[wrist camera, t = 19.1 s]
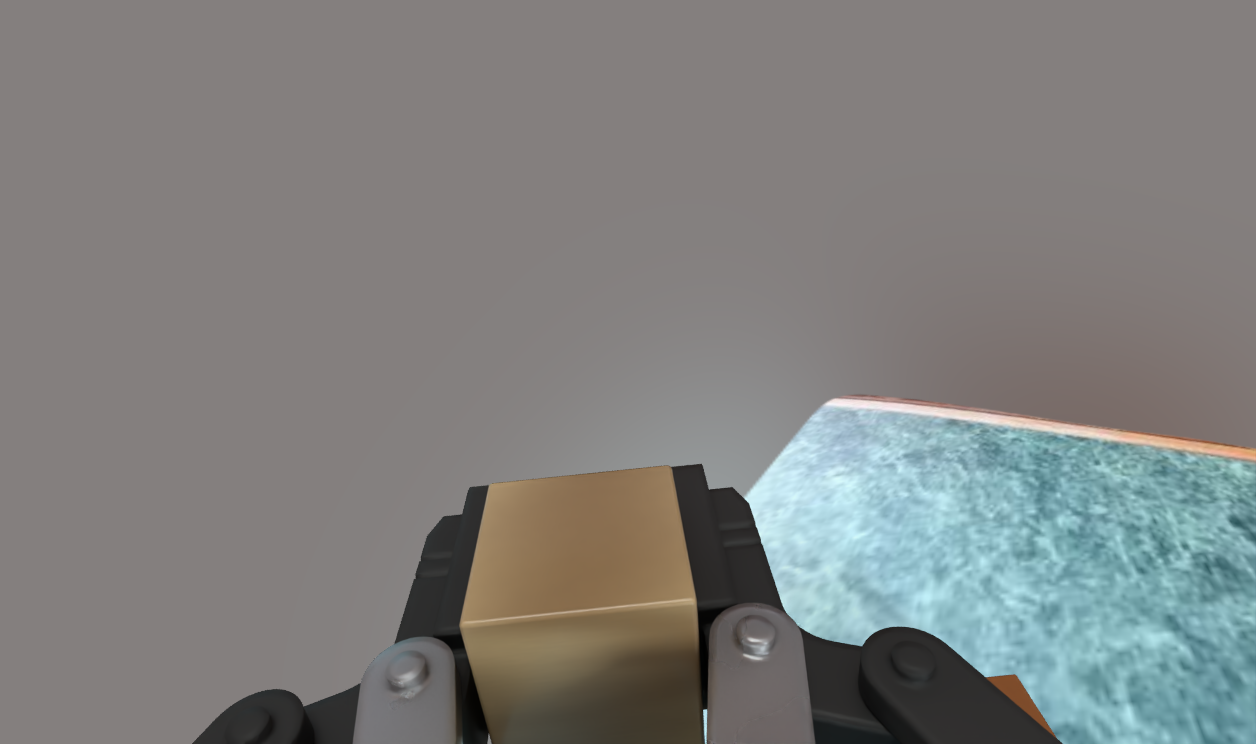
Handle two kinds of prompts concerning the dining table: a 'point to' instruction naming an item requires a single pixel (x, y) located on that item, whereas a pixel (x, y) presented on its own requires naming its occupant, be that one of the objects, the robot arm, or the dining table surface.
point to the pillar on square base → (585, 612)
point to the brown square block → (1019, 697)
